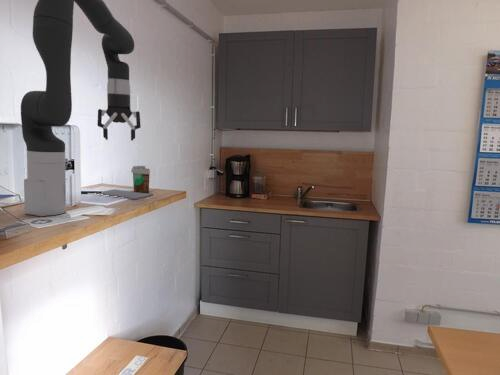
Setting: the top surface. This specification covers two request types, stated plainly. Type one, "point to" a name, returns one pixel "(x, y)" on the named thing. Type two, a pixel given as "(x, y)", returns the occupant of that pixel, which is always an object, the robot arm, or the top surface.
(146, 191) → the food container
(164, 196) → the top surface
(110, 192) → the mat
